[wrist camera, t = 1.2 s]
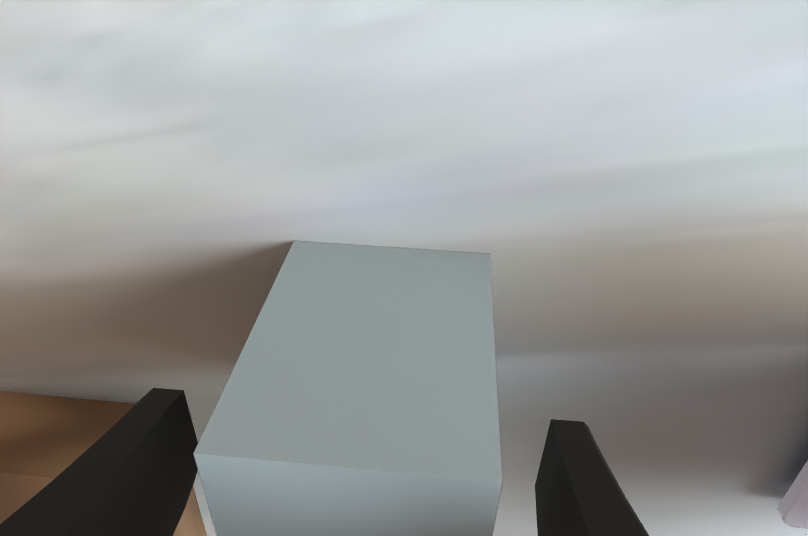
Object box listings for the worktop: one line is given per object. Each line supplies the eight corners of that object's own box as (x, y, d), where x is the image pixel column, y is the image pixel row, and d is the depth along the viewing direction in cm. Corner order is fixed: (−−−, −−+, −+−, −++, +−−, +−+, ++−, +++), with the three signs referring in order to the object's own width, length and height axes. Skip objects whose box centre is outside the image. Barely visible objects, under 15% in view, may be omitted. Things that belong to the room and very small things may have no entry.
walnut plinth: (175, 399, 17) (127, 485, 15) (211, 532, 21) (177, 618, 19) (-47, 377, 18) (-130, 459, 15) (28, 512, 22) (-28, 594, 19)
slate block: (490, 252, 13) (502, 481, 8) (472, 392, 16) (474, 631, 11) (294, 239, 13) (192, 453, 9) (308, 379, 16) (236, 605, 11)
